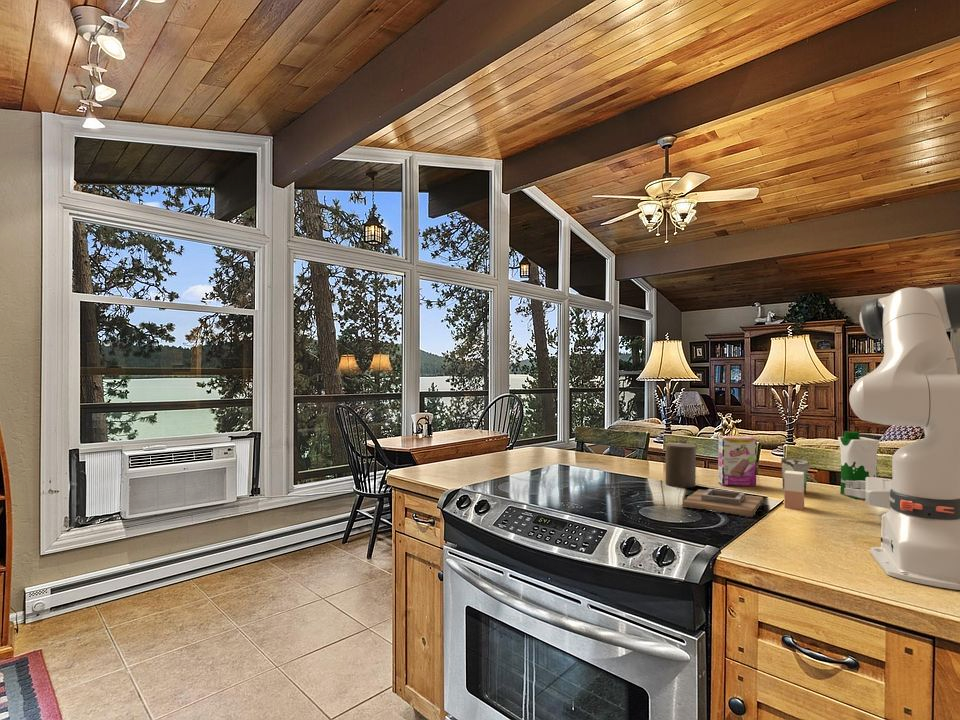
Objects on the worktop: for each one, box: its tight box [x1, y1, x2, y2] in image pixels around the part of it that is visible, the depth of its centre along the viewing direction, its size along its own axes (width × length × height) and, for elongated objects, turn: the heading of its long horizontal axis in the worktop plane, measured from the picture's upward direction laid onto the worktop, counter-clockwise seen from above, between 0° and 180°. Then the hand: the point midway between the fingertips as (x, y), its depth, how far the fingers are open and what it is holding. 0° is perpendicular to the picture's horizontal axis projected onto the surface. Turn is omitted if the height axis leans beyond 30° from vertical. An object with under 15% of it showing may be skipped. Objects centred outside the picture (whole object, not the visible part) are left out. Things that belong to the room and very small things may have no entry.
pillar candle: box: [665, 441, 697, 488], centre depth 186 cm, size 10×10×15 cm
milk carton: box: [837, 430, 880, 500], centre depth 168 cm, size 9×9×20 cm
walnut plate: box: [682, 488, 764, 516], centre depth 157 cm, size 18×18×4 cm
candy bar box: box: [717, 435, 757, 487], centre depth 185 cm, size 11×5×16 cm, turn 84°
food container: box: [780, 457, 811, 495], centre depth 174 cm, size 12×6×10 cm, turn 168°
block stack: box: [783, 470, 805, 511], centre depth 156 cm, size 4×4×10 cm
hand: (844, 487), depth 149 cm, fingers open, 8 cm apart
